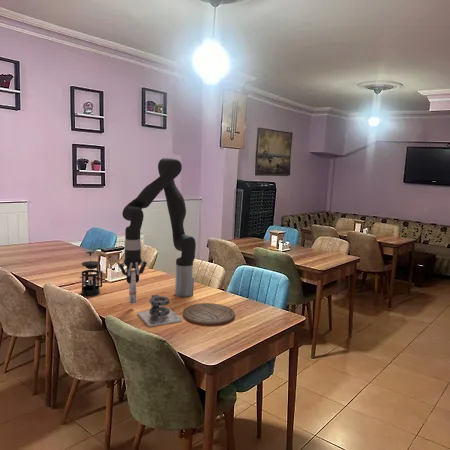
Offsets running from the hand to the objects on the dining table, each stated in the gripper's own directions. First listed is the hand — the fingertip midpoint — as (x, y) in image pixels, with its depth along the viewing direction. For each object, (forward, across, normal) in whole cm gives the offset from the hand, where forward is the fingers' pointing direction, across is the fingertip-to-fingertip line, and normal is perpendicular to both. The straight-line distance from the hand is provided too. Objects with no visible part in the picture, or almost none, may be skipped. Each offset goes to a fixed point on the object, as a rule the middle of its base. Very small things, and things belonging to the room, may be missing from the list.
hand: (132, 282), depth 198 cm
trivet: (+14, -31, +22) cm, 40 cm away
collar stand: (+13, -8, +16) cm, 22 cm away
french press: (+14, +13, -30) cm, 35 cm away
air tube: (+10, 0, 0) cm, 10 cm away
